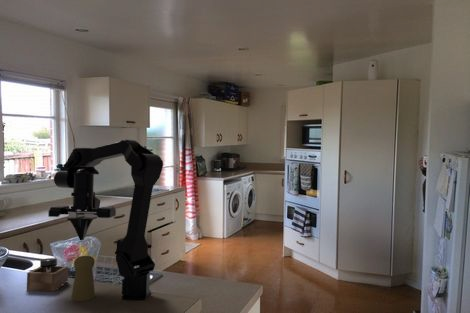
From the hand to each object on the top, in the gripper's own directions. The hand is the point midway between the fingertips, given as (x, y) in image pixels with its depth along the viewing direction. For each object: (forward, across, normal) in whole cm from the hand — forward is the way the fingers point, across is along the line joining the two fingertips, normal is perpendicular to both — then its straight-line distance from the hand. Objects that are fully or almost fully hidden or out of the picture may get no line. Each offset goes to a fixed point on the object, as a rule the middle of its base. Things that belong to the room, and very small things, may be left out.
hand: (81, 240), depth 113 cm
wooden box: (+13, +8, +4) cm, 16 cm away
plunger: (+13, +8, +4) cm, 16 cm away
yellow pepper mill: (+13, -6, +12) cm, 19 cm away
